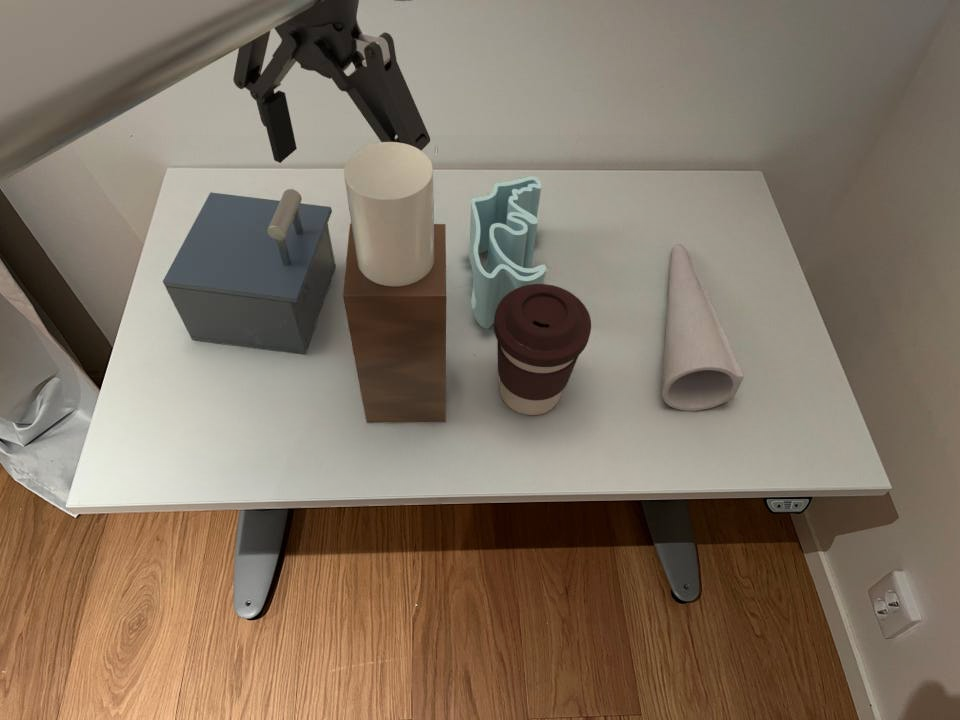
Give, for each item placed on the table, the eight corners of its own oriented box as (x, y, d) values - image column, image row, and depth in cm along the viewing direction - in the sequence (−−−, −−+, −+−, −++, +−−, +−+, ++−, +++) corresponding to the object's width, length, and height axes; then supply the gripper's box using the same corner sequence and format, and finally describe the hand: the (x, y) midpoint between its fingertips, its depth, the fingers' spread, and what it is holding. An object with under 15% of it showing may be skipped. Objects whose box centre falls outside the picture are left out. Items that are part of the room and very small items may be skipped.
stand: (366, 423, 77) (342, 296, 59) (370, 358, 82) (349, 223, 64) (446, 422, 77) (446, 295, 60) (445, 357, 83) (445, 223, 65)
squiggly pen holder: (462, 231, 95) (464, 178, 88) (532, 228, 96) (539, 176, 89) (474, 333, 85) (477, 283, 77) (552, 329, 86) (563, 279, 78)
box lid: (332, 211, 82) (323, 166, 77) (298, 303, 74) (286, 259, 68) (212, 197, 83) (195, 151, 77) (164, 286, 75) (142, 241, 69)
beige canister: (382, 298, 59) (372, 211, 51) (343, 249, 62) (327, 160, 54) (449, 266, 62) (450, 178, 53) (408, 220, 65) (403, 131, 57)
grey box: (336, 266, 90) (325, 211, 82) (305, 355, 82) (290, 302, 74) (232, 254, 91) (212, 197, 83) (192, 340, 83) (164, 286, 75)
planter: (628, 223, 91) (670, 367, 74) (691, 222, 92) (749, 366, 74) (618, 267, 97) (655, 411, 80) (678, 267, 97) (729, 410, 80)
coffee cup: (532, 343, 84) (547, 258, 72) (589, 396, 80) (614, 316, 68) (470, 384, 81) (475, 302, 68) (526, 442, 76) (542, 366, 64)
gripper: (472, -21, 50) (465, 200, 67) (211, -105, 57) (265, 117, 74) (418, 24, 46) (425, 247, 64) (143, -72, 53) (218, 155, 70)
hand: (339, 178), depth 69 cm, fingers open, 13 cm apart
